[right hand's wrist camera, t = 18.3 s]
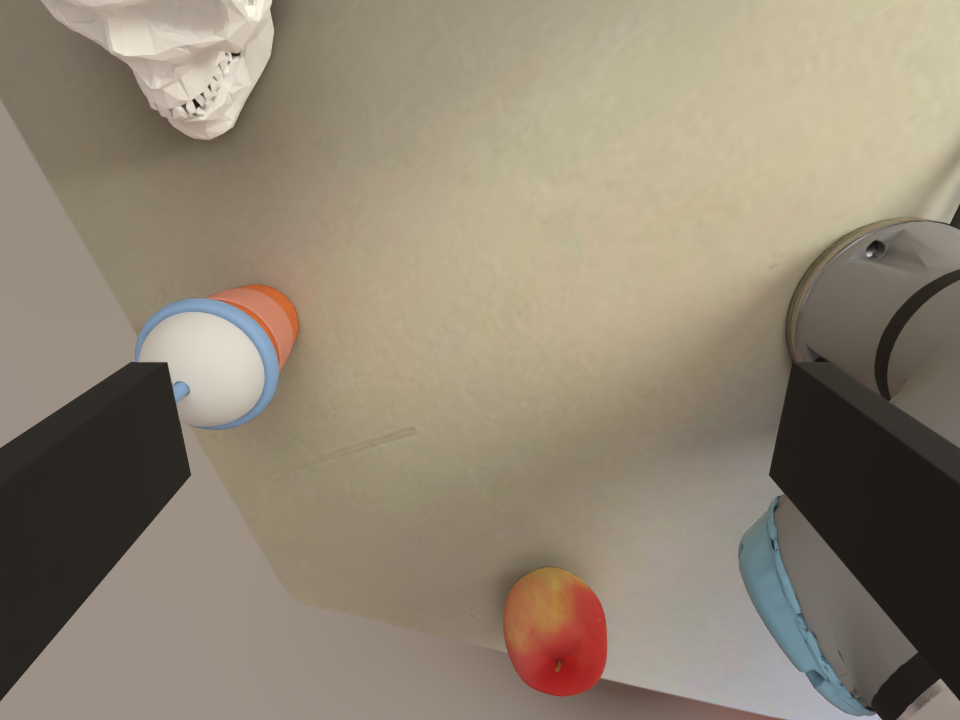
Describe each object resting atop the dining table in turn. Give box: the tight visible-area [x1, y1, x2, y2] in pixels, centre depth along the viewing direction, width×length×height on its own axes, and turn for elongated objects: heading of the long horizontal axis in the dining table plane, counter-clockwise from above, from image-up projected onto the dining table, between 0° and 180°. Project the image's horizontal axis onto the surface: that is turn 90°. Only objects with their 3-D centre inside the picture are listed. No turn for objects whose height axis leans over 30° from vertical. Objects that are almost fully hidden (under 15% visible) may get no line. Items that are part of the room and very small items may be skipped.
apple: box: [503, 567, 607, 696], centre depth 53 cm, size 10×10×10 cm
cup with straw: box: [135, 284, 299, 430], centre depth 39 cm, size 9×9×18 cm
